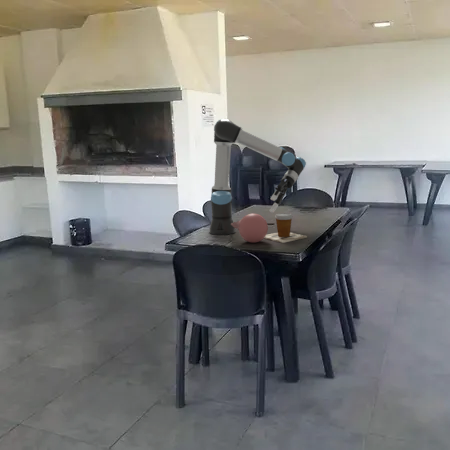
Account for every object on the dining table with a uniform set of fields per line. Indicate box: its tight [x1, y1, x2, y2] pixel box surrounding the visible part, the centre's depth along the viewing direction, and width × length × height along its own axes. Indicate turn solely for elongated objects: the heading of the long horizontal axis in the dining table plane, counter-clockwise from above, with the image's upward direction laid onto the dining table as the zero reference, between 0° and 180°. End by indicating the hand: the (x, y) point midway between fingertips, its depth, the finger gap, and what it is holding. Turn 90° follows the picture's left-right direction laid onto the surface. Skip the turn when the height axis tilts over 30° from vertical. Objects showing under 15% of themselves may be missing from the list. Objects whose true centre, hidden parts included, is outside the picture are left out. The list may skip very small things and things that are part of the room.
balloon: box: [231, 212, 269, 244], centre depth 278 cm, size 15×20×15 cm
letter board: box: [263, 231, 308, 244], centre depth 287 cm, size 18×18×1 cm
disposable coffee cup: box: [274, 212, 293, 237], centre depth 286 cm, size 10×10×12 cm
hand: (271, 206), depth 301 cm, fingers open, 13 cm apart
